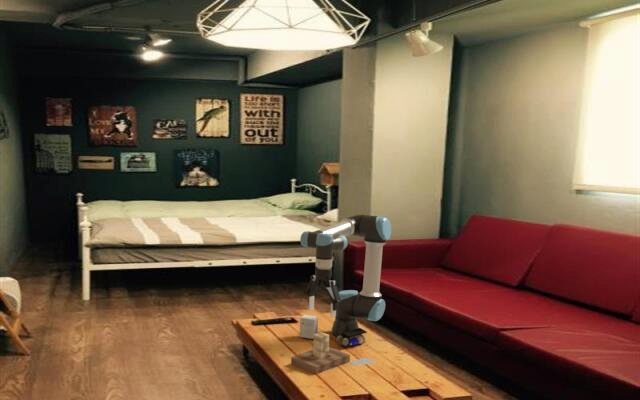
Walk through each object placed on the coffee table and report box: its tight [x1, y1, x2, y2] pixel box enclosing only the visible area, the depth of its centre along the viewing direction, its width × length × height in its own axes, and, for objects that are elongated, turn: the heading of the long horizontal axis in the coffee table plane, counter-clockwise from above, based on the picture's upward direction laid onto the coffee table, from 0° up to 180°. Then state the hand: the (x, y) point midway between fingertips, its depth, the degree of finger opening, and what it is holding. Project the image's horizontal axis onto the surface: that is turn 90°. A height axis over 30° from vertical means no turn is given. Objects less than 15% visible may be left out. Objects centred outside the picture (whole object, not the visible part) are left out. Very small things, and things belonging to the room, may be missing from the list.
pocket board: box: [290, 346, 351, 375], centre depth 265 cm, size 22×16×4 cm
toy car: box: [335, 327, 368, 349], centre depth 290 cm, size 7×8×15 cm
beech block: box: [312, 331, 330, 360], centre depth 264 cm, size 5×5×14 cm
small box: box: [299, 314, 319, 340], centre depth 301 cm, size 8×6×10 cm
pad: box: [350, 357, 378, 366], centre depth 266 cm, size 10×10×1 cm
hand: (321, 313), depth 262 cm, fingers open, 13 cm apart
